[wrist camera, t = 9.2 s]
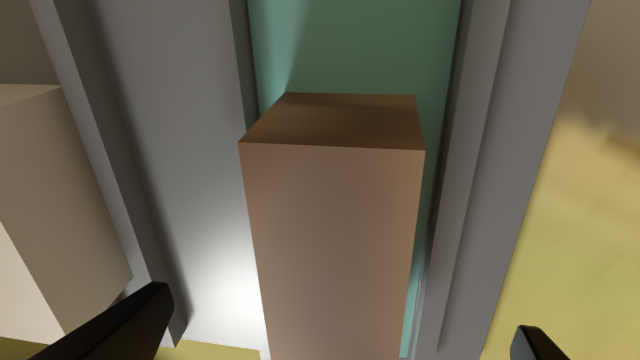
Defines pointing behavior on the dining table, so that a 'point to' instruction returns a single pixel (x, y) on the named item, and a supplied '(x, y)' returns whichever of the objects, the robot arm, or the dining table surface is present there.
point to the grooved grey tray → (303, 77)
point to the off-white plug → (51, 221)
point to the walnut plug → (334, 221)
